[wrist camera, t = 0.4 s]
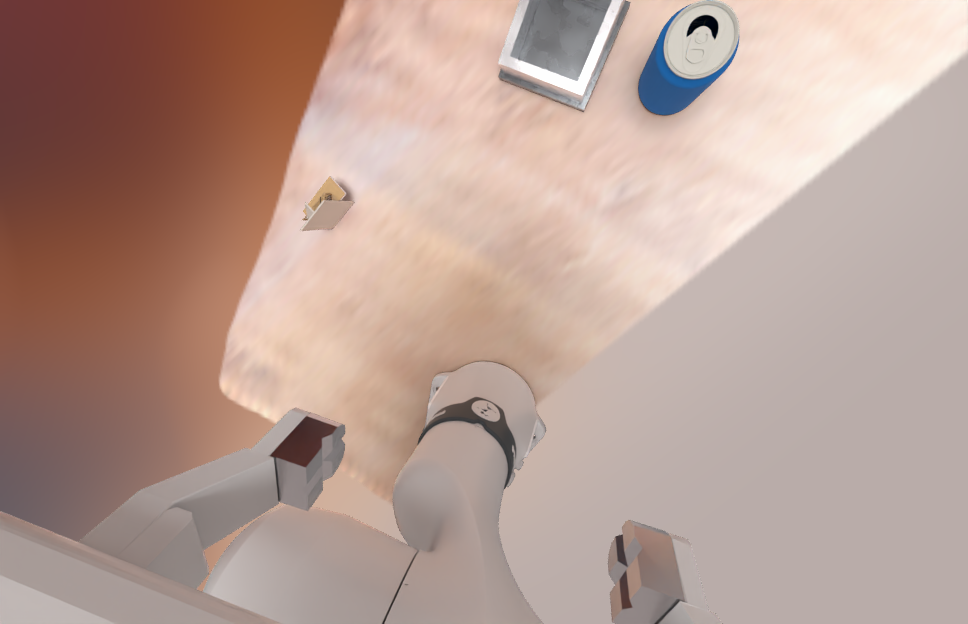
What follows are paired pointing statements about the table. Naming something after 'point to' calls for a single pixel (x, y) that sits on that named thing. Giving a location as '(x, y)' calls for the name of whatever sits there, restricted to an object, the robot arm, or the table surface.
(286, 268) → the table surface
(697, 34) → the beverage can
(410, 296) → the table surface
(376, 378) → the table surface
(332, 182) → the architectural model
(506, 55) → the can holder
